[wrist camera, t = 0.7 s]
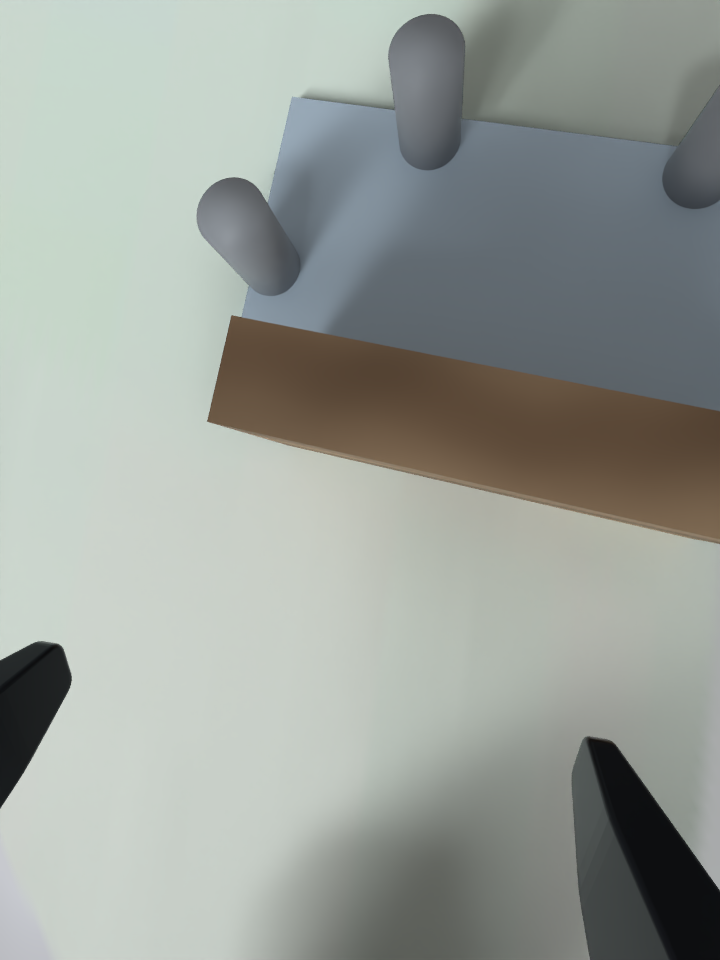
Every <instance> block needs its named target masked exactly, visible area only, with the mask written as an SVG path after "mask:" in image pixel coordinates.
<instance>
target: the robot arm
mask: <svg viewBox="0 0 720 960" xmlns="http://www.w3.org/2000/svg"><path fill="white" fill-rule="evenodd" d="M71 681H72V676H71V672H70V668H69V665H68V662H67V659H66V656H65V652H64V649H63V648H62V646H61V645H59V644H56V643H50V642H44V641H39V642H35V643H33V644H31V645H29V646H27V647H25V648H23V649H21V650H19V651H17V652H15V653H13V654H11V655H10V656H8V657H6V658H4V659H2V660H0V808H1V807H2V805H3V804H4V802H5V801H6V799H7V798H8V796H9V795H10V793H11V792H12V790H13V789H14V787H15V785H16V784H17V782H18V781H19V779H20V778H21V776H22V774H23V773H24V771H25V769H26V768H27V766H28V764H29V763H30V761H31V759H32V757H33V755H34V754H35V752H36V750H37V748H38V746H39V744H40V743H41V741H42V739H43V737H44V735H45V733H46V732H47V730H48V728H49V726H50V724H51V722H52V720H53V719H54V717H55V715H56V713H57V711H58V709H59V708H60V706H61V704H62V702H63V700H64V698H65V697H66V695H67V693H68V691H69V689H70V686H71ZM572 797H573V812H574V827H575V842H576V858H577V873H578V885H579V895H580V902H581V909H582V915H583V921H584V927H585V933H586V939H587V944H588V950H589V956H590V960H720V890H719V889H718V887H717V886H716V884H715V883H714V882H713V880H712V879H711V877H710V876H709V875H708V873H707V872H706V870H705V869H704V868H703V866H702V865H701V863H700V862H699V861H698V859H697V858H696V856H695V855H694V854H693V852H692V851H691V849H690V848H689V847H688V845H687V844H686V842H685V841H684V840H683V838H682V837H681V835H680V834H679V833H678V831H677V830H676V828H675V827H674V826H673V824H672V823H671V821H670V820H669V819H668V817H667V816H666V814H665V813H664V812H663V810H662V809H661V807H660V806H659V805H658V803H657V802H656V800H655V799H654V798H653V796H652V795H651V793H650V792H649V791H648V789H647V788H646V786H645V785H644V784H643V782H642V781H641V779H640V778H639V777H638V775H637V774H636V772H635V771H634V769H633V768H632V767H631V765H630V764H629V762H628V761H627V760H626V758H625V757H624V755H623V754H622V753H621V751H620V750H619V748H618V747H617V746H616V745H615V744H614V743H613V742H612V741H610V740H607V739H602V738H596V737H590V736H587V737H585V738H584V739H583V740H582V743H581V746H580V749H579V752H578V755H577V758H576V761H575V764H574V767H573V771H572Z"/></svg>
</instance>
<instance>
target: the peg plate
mask: <svg viewBox="0 0 720 960" xmlns="http://www.w3.org/2000/svg"><path fill="white" fill-rule="evenodd" d="M464 58H465V41H464V37H463V34H462V32H461V30H460V29H459V27H458V26H457V25H456V24H455V23H454V22H453V21H452V20H450V19H449V18H446V17H444V16H441V15H436V14H426V15H421V16H418V17H415V18H413V19H411V20H409V21H408V22H406V23H405V24H404V25H403V26H402V27H401V28H400V29H399V30H398V31H397V32H396V34H395V35H394V37H393V39H392V41H391V44H390V47H389V54H388V59H389V68H390V75H391V83H392V91H393V99H394V106H395V110H391V109H383V108H375V107H367V106H360V105H352V104H344V103H336V102H328V101H321V100H313V99H305V98H297V97H292V100H291V104H290V108H289V113H288V117H287V121H286V126H285V130H284V134H283V139H282V143H281V148H280V152H279V156H278V161H277V165H276V169H275V174H274V178H273V182H272V187H271V191H270V196H269V200H268V203H267V202H266V200H265V199H264V197H263V195H262V194H261V192H260V191H259V189H258V188H257V187H256V186H255V185H254V184H252V183H251V182H249V181H248V180H245V179H242V178H235V177H234V178H226V179H223V180H220V181H218V182H216V183H215V184H213V185H212V186H211V187H209V188H208V189H207V191H206V192H205V193H204V194H203V196H202V198H201V200H200V202H199V205H198V209H197V224H198V228H199V230H200V232H201V234H202V236H203V237H204V238H205V239H206V241H207V242H208V243H209V244H210V245H211V246H212V247H213V248H214V249H215V250H216V251H217V252H218V253H219V254H220V255H221V256H222V257H223V258H224V260H225V261H226V262H227V263H228V264H229V265H230V266H231V267H232V268H233V269H234V270H235V271H236V272H237V273H238V274H239V275H240V276H241V277H242V278H243V280H244V281H245V282H246V283H247V284H248V285H249V287H248V292H247V296H246V300H245V305H244V309H243V313H242V317H243V318H248V319H253V320H258V321H263V322H268V323H273V324H278V325H283V326H289V327H294V328H299V329H304V330H309V331H314V332H319V333H324V334H329V335H334V336H339V337H345V338H350V339H355V340H360V341H365V342H370V343H375V344H380V345H385V346H390V347H395V348H401V349H406V350H411V351H416V352H421V353H426V354H431V355H436V356H441V357H446V358H452V359H457V360H462V361H467V362H472V363H477V364H482V365H487V366H492V367H497V368H502V369H508V370H513V371H518V372H523V373H528V374H533V375H538V376H543V377H548V378H553V379H558V380H564V381H569V382H574V383H579V384H584V385H589V386H594V387H599V388H604V389H609V390H615V391H620V392H625V393H630V394H635V395H640V396H645V397H650V398H655V399H660V400H665V401H671V402H676V403H681V404H686V405H691V406H696V407H701V408H706V409H711V410H716V411H720V85H719V87H718V88H717V90H716V91H715V93H714V94H713V95H712V97H711V98H710V100H709V101H708V103H707V104H706V106H705V107H704V109H703V110H702V112H701V113H700V115H699V116H698V118H697V119H696V120H695V122H694V123H693V125H692V126H691V128H690V129H689V131H688V132H687V134H686V135H685V137H684V138H683V140H682V141H681V143H680V144H679V145H678V146H671V145H663V144H655V143H648V142H640V141H632V140H624V139H616V138H609V137H601V136H593V135H585V134H577V133H570V132H562V131H554V130H546V129H539V128H531V127H523V126H515V125H507V124H500V123H492V122H484V121H476V120H468V119H462V100H463V79H464Z"/></svg>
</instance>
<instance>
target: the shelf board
mask: <svg viewBox="0 0 720 960" xmlns="http://www.w3.org/2000/svg"><path fill="white" fill-rule="evenodd" d="M207 422H210V423H214V424H217V425H221V426H224V427H227V428H231V429H234V430H238V431H241V432H245V433H248V434H251V435H255V436H258V437H262V438H265V439H268V440H272V441H275V442H279V443H282V444H286V445H289V446H294V447H298V448H302V449H307V450H311V451H315V452H320V453H324V454H328V455H333V456H337V457H341V458H346V459H350V460H354V461H359V462H363V463H367V464H372V465H376V466H380V467H385V468H389V469H393V470H398V471H402V472H406V473H411V474H415V475H419V476H423V477H428V478H432V479H436V480H441V481H445V482H449V483H454V484H458V485H462V486H467V487H471V488H475V489H480V490H484V491H488V492H493V493H497V494H501V495H506V496H510V497H514V498H519V499H523V500H527V501H532V502H536V503H540V504H545V505H549V506H553V507H558V508H562V509H566V510H571V511H575V512H579V513H584V514H588V515H592V516H597V517H601V518H605V519H610V520H614V521H618V522H623V523H627V524H631V525H635V526H640V527H644V528H648V529H653V530H657V531H661V532H666V533H670V534H674V535H679V536H683V537H687V538H692V539H697V540H702V541H708V542H713V543H718V544H720V411H716V410H711V409H706V408H701V407H696V406H691V405H686V404H681V403H676V402H671V401H665V400H660V399H655V398H650V397H645V396H640V395H635V394H630V393H625V392H620V391H615V390H609V389H604V388H599V387H594V386H589V385H584V384H579V383H574V382H569V381H564V380H558V379H553V378H548V377H543V376H538V375H533V374H528V373H523V372H518V371H513V370H508V369H502V368H497V367H492V366H487V365H482V364H477V363H472V362H467V361H462V360H457V359H452V358H446V357H441V356H436V355H431V354H426V353H421V352H416V351H411V350H406V349H401V348H395V347H390V346H385V345H380V344H375V343H370V342H365V341H360V340H355V339H350V338H345V337H339V336H334V335H329V334H324V333H319V332H314V331H309V330H304V329H299V328H294V327H289V326H283V325H278V324H273V323H268V322H263V321H258V320H253V319H248V318H243V317H238V316H233V315H232V316H231V320H230V324H229V329H228V333H227V337H226V342H225V346H224V351H223V355H222V359H221V364H220V368H219V372H218V377H217V381H216V385H215V390H214V394H213V399H212V403H211V407H210V412H209V416H208V420H207Z"/></svg>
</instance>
